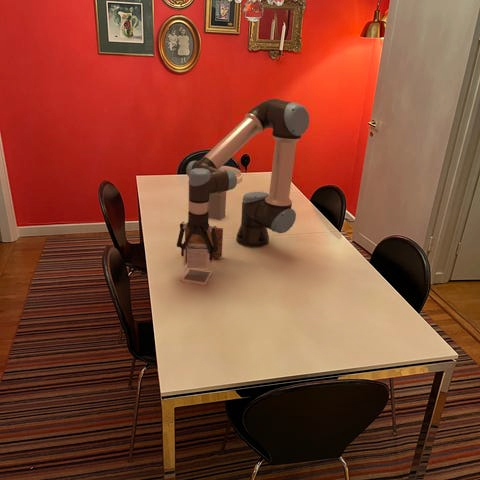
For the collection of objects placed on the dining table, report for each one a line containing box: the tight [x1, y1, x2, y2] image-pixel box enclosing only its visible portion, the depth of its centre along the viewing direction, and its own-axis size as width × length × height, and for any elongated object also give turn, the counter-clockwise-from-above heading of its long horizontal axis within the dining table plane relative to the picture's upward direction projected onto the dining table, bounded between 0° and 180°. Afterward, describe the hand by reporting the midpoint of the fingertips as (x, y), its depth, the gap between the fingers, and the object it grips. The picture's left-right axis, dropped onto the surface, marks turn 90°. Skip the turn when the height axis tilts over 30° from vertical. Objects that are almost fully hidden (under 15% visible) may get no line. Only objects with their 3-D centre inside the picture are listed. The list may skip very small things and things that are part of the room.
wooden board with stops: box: [184, 226, 224, 260], centre depth 200 cm, size 16×5×13 cm, turn 79°
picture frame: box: [180, 268, 213, 286], centre depth 184 cm, size 10×10×1 cm
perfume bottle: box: [208, 191, 227, 221], centre depth 239 cm, size 7×7×18 cm
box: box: [186, 244, 208, 270], centre depth 180 cm, size 8×4×9 cm, turn 92°
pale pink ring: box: [218, 165, 243, 184], centre depth 301 cm, size 27×27×6 cm
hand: (197, 265), depth 182 cm, fingers closed on box, 9 cm apart
